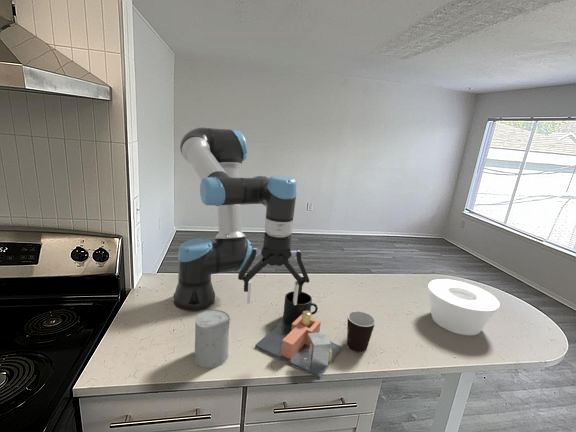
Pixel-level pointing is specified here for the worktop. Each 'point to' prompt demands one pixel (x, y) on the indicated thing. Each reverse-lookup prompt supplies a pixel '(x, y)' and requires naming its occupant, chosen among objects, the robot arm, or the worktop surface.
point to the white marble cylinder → (211, 338)
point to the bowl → (461, 306)
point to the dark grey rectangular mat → (301, 358)
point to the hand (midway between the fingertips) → (271, 302)
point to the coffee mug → (359, 330)
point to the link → (298, 337)
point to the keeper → (320, 349)
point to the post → (306, 318)
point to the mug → (297, 306)
